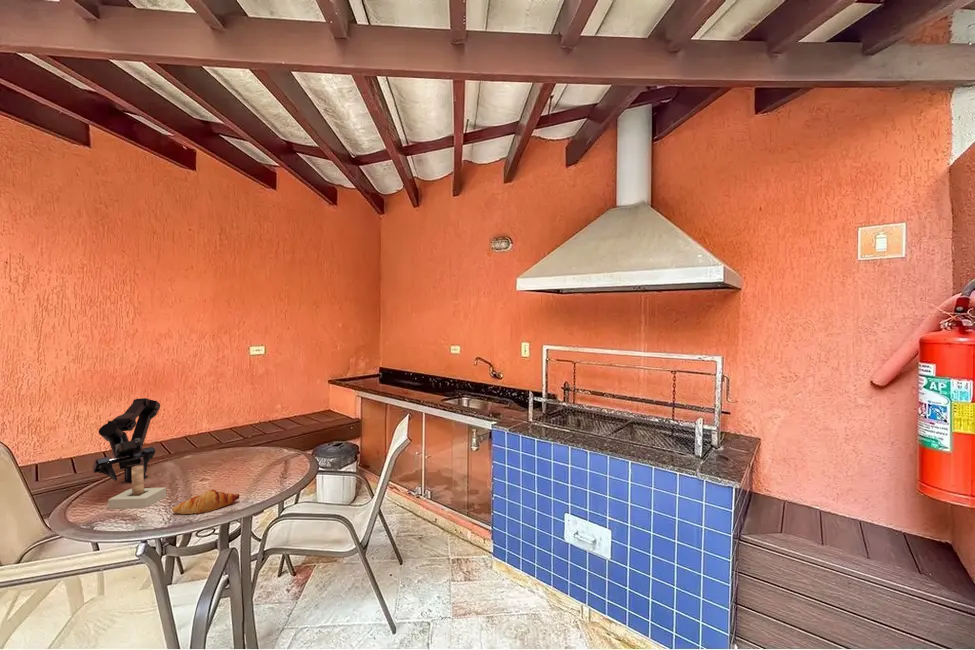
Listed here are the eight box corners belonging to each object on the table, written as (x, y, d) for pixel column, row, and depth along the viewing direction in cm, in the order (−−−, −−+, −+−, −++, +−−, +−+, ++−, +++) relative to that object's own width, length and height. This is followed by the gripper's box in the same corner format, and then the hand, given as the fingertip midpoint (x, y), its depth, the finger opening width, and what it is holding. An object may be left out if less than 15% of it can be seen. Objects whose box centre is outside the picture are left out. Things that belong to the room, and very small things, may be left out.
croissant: (170, 527, 144) (167, 512, 141) (175, 504, 152) (172, 490, 148) (239, 512, 154) (237, 497, 150) (240, 491, 162) (239, 477, 158)
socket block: (108, 508, 152) (108, 499, 152) (130, 497, 162) (130, 488, 162) (146, 507, 153) (146, 498, 153) (166, 496, 163) (166, 487, 163)
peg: (129, 504, 156) (129, 468, 155) (137, 500, 159) (136, 465, 159) (139, 504, 156) (138, 468, 156) (146, 500, 159) (145, 465, 159)
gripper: (94, 439, 156) (105, 472, 150) (153, 427, 172) (165, 457, 166) (88, 456, 160) (98, 489, 154) (146, 443, 176) (157, 473, 170)
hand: (131, 476), depth 161 cm, fingers open, 9 cm apart
